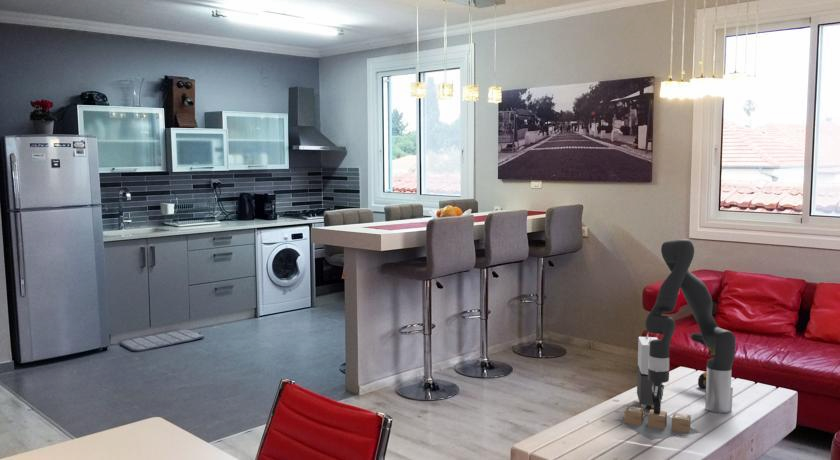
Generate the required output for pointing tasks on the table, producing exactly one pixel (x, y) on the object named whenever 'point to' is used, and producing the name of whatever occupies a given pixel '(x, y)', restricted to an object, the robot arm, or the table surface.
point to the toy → (644, 372)
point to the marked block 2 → (681, 422)
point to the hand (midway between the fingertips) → (657, 412)
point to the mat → (654, 432)
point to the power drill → (698, 338)
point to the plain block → (657, 420)
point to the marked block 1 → (634, 416)
